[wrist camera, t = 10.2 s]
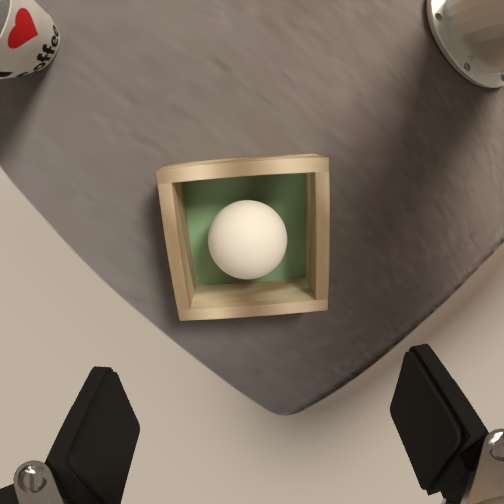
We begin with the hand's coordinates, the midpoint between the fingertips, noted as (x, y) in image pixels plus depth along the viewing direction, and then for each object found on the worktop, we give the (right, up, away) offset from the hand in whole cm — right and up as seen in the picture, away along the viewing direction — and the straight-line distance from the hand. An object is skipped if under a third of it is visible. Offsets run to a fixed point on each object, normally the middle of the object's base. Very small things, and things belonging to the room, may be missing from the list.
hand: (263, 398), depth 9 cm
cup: (-21, +24, +12) cm, 34 cm away
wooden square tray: (-1, +7, +18) cm, 20 cm away
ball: (-1, +5, +15) cm, 16 cm away
